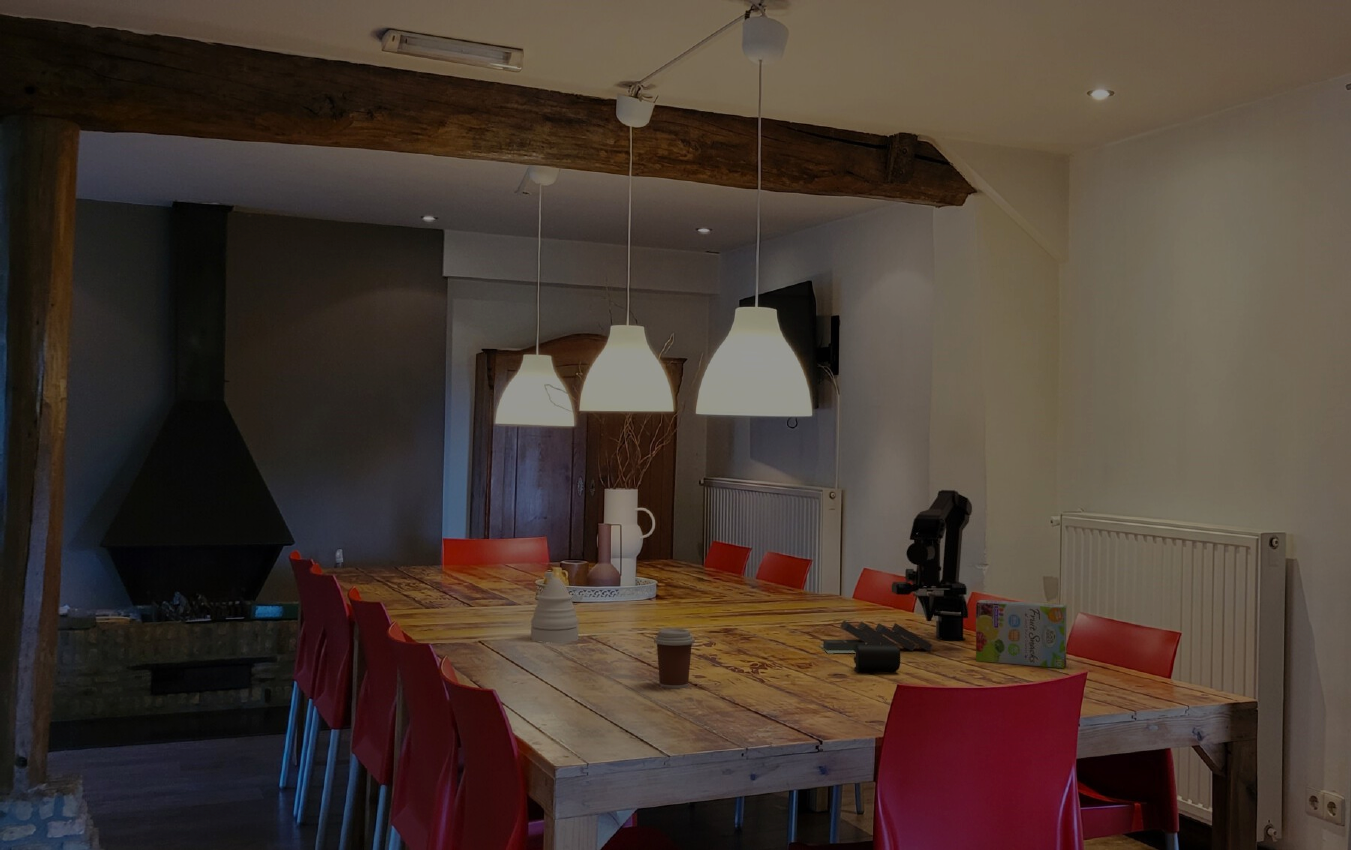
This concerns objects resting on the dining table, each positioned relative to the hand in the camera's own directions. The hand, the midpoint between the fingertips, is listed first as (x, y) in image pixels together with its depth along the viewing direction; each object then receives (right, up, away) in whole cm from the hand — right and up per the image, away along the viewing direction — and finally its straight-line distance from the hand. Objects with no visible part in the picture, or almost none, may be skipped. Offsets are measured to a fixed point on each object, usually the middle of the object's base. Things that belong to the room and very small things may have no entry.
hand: (928, 621), depth 298 cm
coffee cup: (-67, -6, -48) cm, 83 cm away
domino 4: (0, -7, 0) cm, 7 cm away
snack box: (+19, -8, -18) cm, 27 cm away
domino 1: (-14, -6, -1) cm, 15 cm away
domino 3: (-5, -7, -1) cm, 8 cm away
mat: (-24, -7, -2) cm, 25 cm away
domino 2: (-10, -7, -1) cm, 12 cm away
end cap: (-19, -7, -31) cm, 37 cm away
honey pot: (-100, -7, +10) cm, 101 cm away
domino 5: (-18, -6, -1) cm, 19 cm away
